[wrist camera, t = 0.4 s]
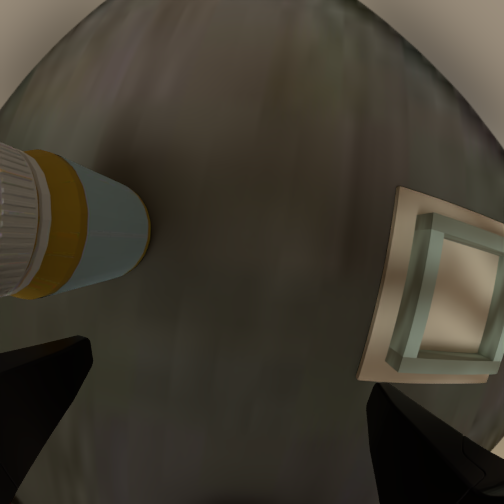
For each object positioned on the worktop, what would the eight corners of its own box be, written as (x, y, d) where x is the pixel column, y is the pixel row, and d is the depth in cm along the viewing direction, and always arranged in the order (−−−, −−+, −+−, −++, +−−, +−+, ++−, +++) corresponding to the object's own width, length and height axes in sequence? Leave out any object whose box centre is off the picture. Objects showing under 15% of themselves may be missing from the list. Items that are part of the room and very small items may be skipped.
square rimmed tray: (482, 380, 22) (500, 391, 19) (355, 377, 22) (368, 393, 19) (516, 231, 22) (537, 230, 19) (396, 187, 22) (415, 180, 19)
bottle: (73, 275, 22) (-81, 304, 7) (76, 186, 22) (-72, 140, 7) (152, 279, 22) (11, 334, 7) (155, 183, 22) (25, 101, 7)
